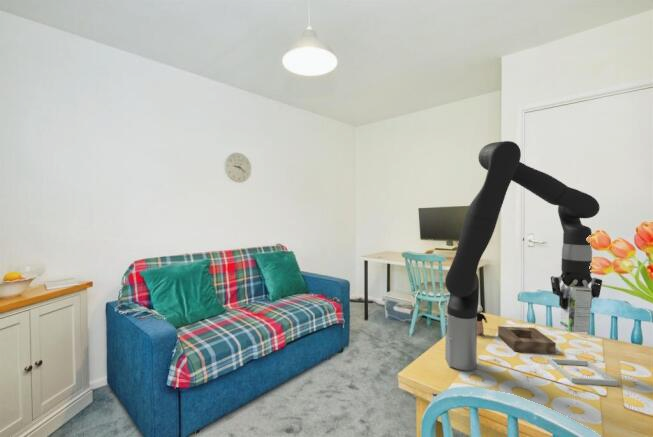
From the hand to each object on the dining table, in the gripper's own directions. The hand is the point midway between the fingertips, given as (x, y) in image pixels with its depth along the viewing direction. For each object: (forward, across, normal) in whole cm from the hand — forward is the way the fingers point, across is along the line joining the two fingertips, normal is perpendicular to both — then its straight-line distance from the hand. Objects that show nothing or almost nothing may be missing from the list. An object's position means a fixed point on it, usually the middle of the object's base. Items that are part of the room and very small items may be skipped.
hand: (575, 309), depth 97 cm
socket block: (+20, -6, +18) cm, 28 cm away
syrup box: (+7, 0, 0) cm, 7 cm away
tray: (+20, +1, -2) cm, 20 cm away
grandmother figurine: (+21, -21, +25) cm, 39 cm away
